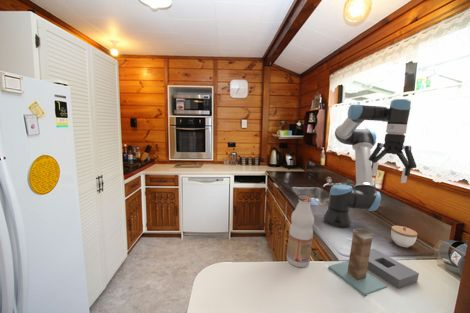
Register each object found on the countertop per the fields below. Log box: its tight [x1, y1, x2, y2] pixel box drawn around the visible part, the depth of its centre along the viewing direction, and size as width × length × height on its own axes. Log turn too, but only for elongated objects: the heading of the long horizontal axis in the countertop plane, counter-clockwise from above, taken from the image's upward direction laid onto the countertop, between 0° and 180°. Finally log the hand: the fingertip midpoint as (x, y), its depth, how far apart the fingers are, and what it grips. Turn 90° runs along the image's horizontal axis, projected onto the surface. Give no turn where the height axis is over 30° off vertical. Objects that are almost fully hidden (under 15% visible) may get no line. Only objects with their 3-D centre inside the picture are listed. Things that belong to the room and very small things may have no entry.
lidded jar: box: [390, 225, 418, 248], centre depth 116 cm, size 11×11×9 cm
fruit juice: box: [286, 195, 315, 268], centre depth 94 cm, size 9×9×28 cm
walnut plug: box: [347, 227, 374, 280], centre depth 86 cm, size 5×5×18 cm
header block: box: [367, 248, 420, 289], centre depth 92 cm, size 18×12×4 cm, turn 24°
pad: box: [327, 260, 388, 297], centre depth 87 cm, size 16×12×1 cm
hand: (387, 179), depth 107 cm, fingers open, 13 cm apart
